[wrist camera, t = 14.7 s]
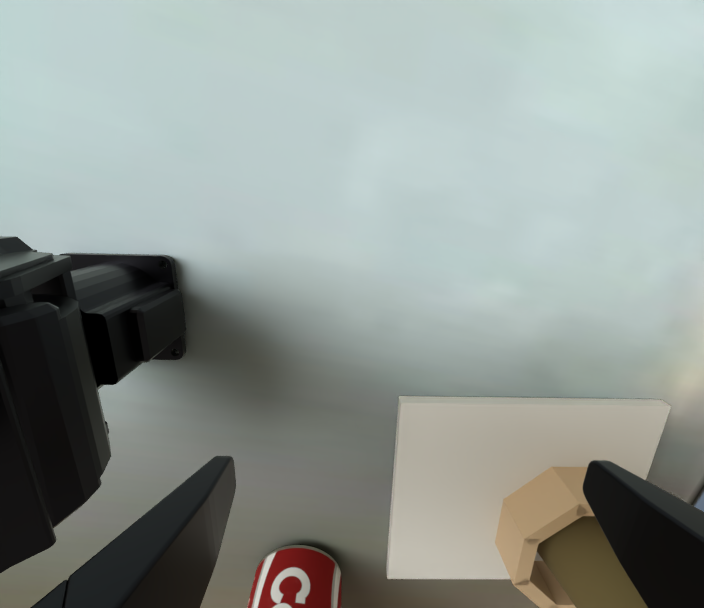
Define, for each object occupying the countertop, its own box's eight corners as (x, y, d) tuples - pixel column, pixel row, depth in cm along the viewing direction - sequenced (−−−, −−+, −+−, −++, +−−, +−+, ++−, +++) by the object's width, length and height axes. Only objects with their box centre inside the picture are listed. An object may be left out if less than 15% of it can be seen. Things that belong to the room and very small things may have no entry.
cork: (549, 562, 26) (683, 804, 16) (508, 517, 25) (627, 748, 14) (619, 524, 25) (814, 755, 15) (581, 474, 24) (766, 691, 13)
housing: (386, 568, 27) (392, 624, 24) (398, 395, 23) (408, 433, 19) (604, 568, 28) (643, 624, 24) (660, 399, 23) (719, 436, 19)
